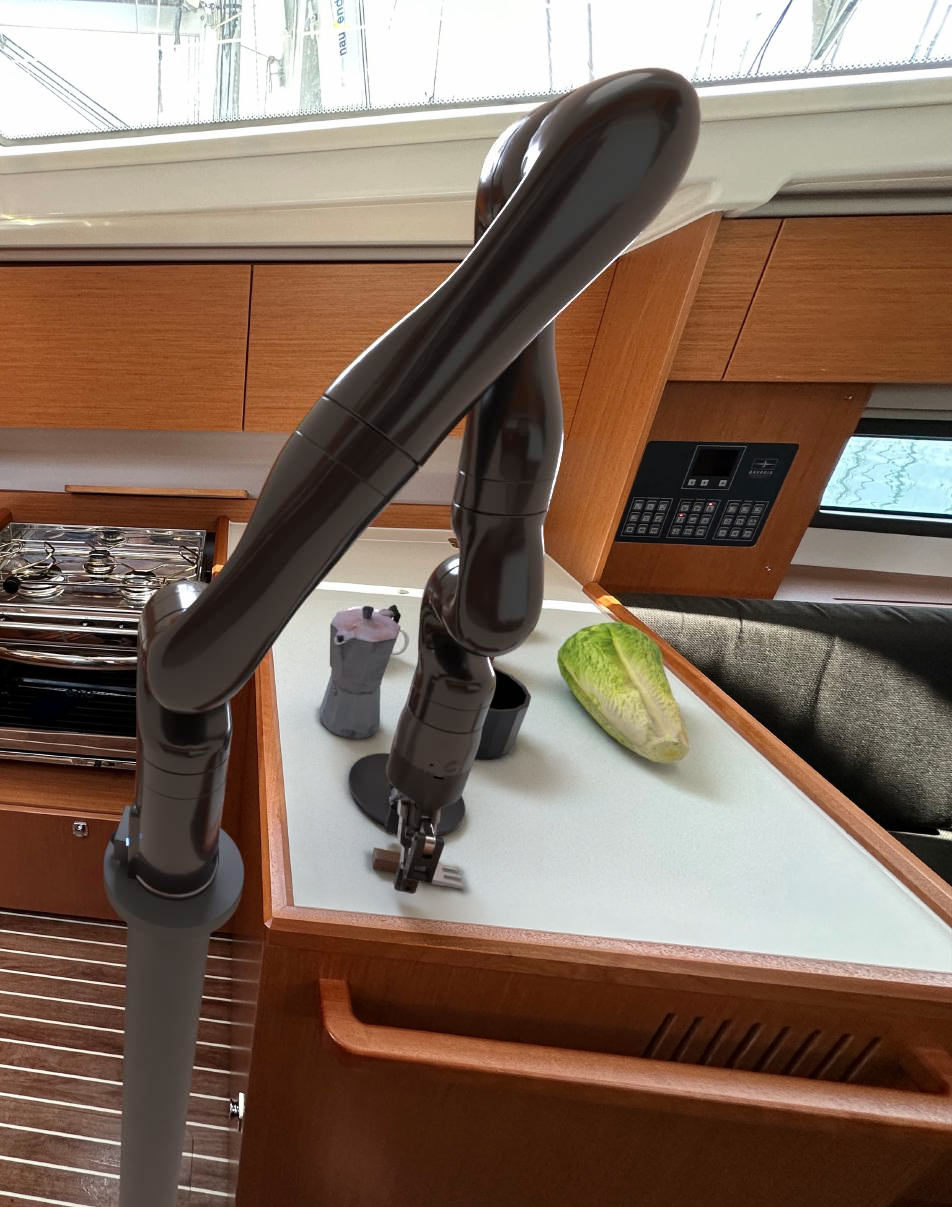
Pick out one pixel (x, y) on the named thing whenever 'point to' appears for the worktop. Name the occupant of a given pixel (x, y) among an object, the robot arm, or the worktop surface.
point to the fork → (441, 877)
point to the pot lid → (374, 793)
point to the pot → (503, 717)
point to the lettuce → (625, 689)
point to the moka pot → (358, 669)
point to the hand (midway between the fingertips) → (398, 859)
